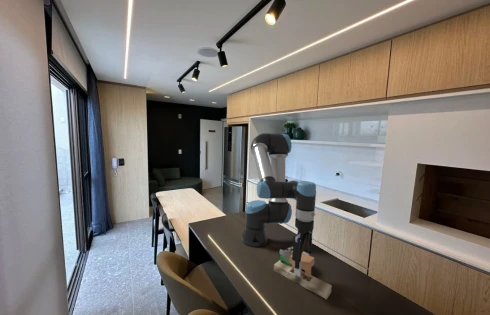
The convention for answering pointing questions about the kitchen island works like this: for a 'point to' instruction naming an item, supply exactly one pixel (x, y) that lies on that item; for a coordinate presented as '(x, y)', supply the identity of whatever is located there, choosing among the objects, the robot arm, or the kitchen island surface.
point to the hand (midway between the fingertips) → (301, 270)
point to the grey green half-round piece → (286, 255)
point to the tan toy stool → (304, 263)
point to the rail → (304, 280)
